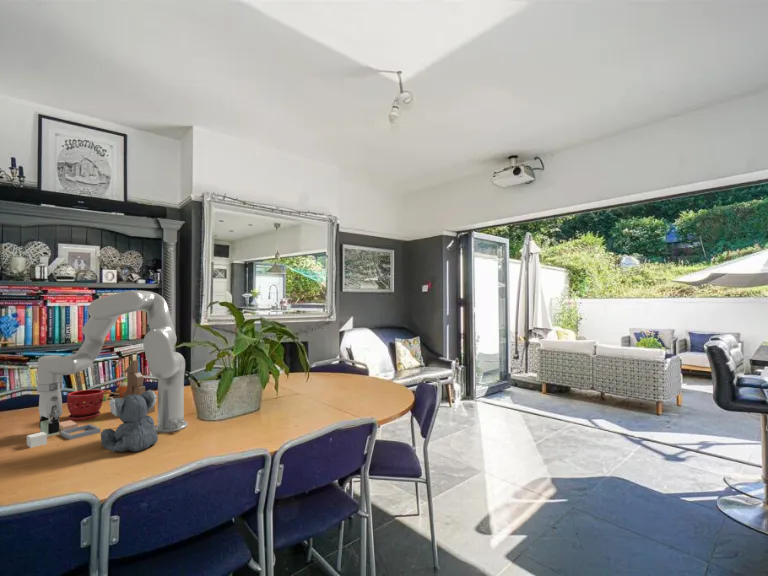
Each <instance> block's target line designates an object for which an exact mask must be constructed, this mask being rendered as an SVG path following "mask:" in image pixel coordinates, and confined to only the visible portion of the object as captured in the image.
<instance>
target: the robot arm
mask: <svg viewBox="0 0 768 576" xmlns="http://www.w3.org/2000/svg"><path fill="white" fill-rule="evenodd" d="M87 311H88V314H89V316H90V317H89V318H88V320H87V321H86V322H85V324H84V325H83V326H82V328H81V332H82V334H83V335H84V341H83V342H82V345H81V346H80V347H79V349H78V350H77V351H76V352H75V353H73V354H69V355H65V356H61V355H56V354H55V355H54V354H53V355H43V356H41V357H39V358H38V359H37V386H36V388H37V389H36V393H38V394H39V400H38V413H39V430H40V424H41V421H46V420H49V424H48V434H52V433H57V432H59V433H60V429H59V422H60V416H62V414H63V399H62V398H63V397H62V390H63V376H68V375H69V376H71V375H73V374H76V373H79V372H82V371H85V370H87V369H89V368H90V367H91V366H92V365H93V363H94V362H95V360H96V359H97V358H98V356H99V355H100V353H101V351H102V349H103V347H104V344H105V339H106V337H107V335H108V334H109V332H110V331H111V330H112V328H113V327H114V325H115V324H116V322H117V321H118V319H119V318H120V316H122V315H125V314H130V313H134V312H142V311H143V312H146V315H147V323H148V326H149V331H148V332H147V333H146V334H145V336H144V337H143V341H142V345H143V349H144V353H145V358H146V362H147V366H148V369H149V371H150V372H149V373H150V374H151V375H152V376H153V378H156V379H158V381H157V397H158V398H157V424H156V425H154V429H155V431H156V433H173V432H177V431H181V430H183V429H185V428H187V427H188V425H189V424H188V421H187V420H185V416H184V409H185V407H184V405H185V404H184V403H185V402H184V399H185V397H184V394H185V393H184V389H185V385H184V384H185V371H186V359H185V358H184V356H183V355H182V353H180V352H177V351H173V347H174V346H176V343H177V338H178V337H177V335H176V331H175V327H174V324H173V319H172V316H171V311H170V309H169V306H168V302H167V301H166V300H165V298H164V297H163V296H162V295H160V294H159V293H156V292H153V291H148V290H126V291H122V292H119V293H113V294H110V295H107V296H103V297H99V298H97V299H93V300H92V302H91V303H89V305H88V309H87Z"/></svg>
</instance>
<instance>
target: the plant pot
mask: <svg viewBox="0 0 768 576" xmlns="http://www.w3.org/2000/svg"><path fill="white" fill-rule="evenodd" d="M103 397H104V391H103V389H81V390H77V391H76V390H74V391H72V392H71V391H70V392H69V393H67V399H66V405H67V410H68V413H69V415H68V416H67V418H68V420H71V421H73V422H78V421H87V420H91V419H95V418H97V417H99V416H100V415H101V411H100V410H101V408H102V405H103V403H104V402H103ZM97 399H98V401H97ZM84 401H85V402H84ZM83 402H84V403H83Z"/></svg>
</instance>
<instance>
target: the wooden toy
mask: <svg viewBox="0 0 768 576" xmlns="http://www.w3.org/2000/svg"><path fill="white" fill-rule="evenodd" d="M124 373H126V374H127V375H126V377H127V378H126V380H127V390H126V392H125V393H123V394H122V397H121V399H124V398H125V397H126V396H128V395H132V394H136V395H141V394H142V393H143V392H145V391H146V386H145V385H144V380H143V379H144V376H143V374H142V372H140V371H139V359H135V360H132V361H131V363H130V364H128V367H126V369H125V370H124ZM155 406H156V403H155V404H154V406H153V407H152V408H151V409H150V410H147V414H146V415H148V414H152V413H155V412H156V411H155V409H156V407H155Z"/></svg>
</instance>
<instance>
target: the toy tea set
mask: <svg viewBox="0 0 768 576" xmlns="http://www.w3.org/2000/svg"><path fill="white" fill-rule="evenodd" d="M102 390H103V389H102ZM126 390H127V379H125V380H124V381H123V382H121V383H120V384H119V385H118V387H117V388H115V392H112V390H110V389H105V390H103V391H104V397H103V403H105V402H110V400H112V399H114V398H113V396H111V395H114V396H119V398H122V394H123V393H125V392H126ZM97 401H98V399H97ZM84 403H86V402H85V401H84Z"/></svg>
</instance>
